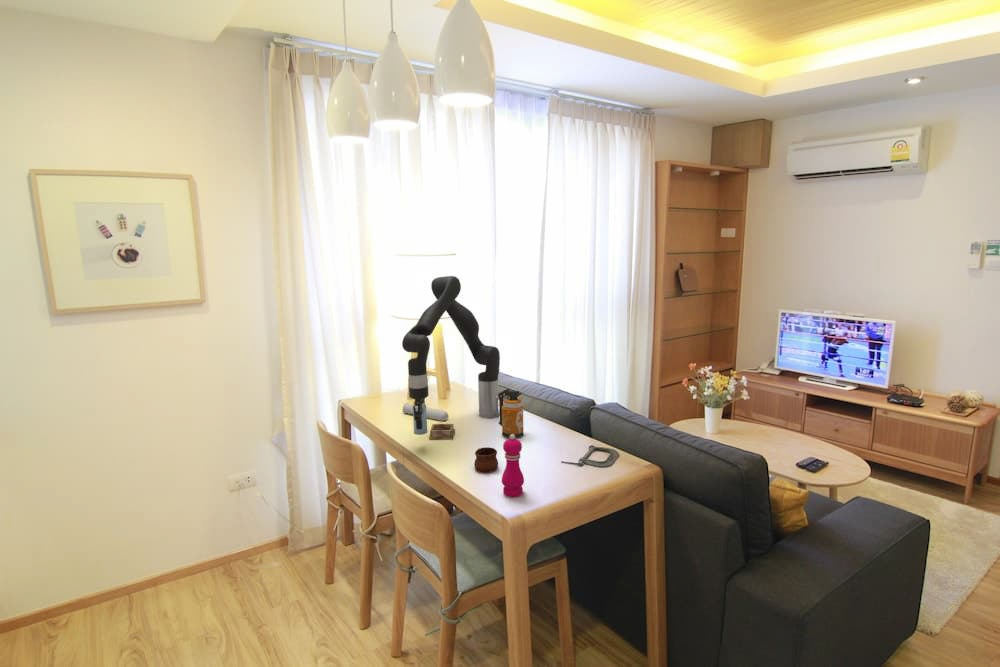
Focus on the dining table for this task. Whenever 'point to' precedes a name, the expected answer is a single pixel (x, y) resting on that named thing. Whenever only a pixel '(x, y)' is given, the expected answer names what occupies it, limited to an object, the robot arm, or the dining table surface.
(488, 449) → the ceramic pot
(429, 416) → the tube
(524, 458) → the dining table surface
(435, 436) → the holder
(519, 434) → the canister
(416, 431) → the roll
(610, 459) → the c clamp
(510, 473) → the pepper mill
